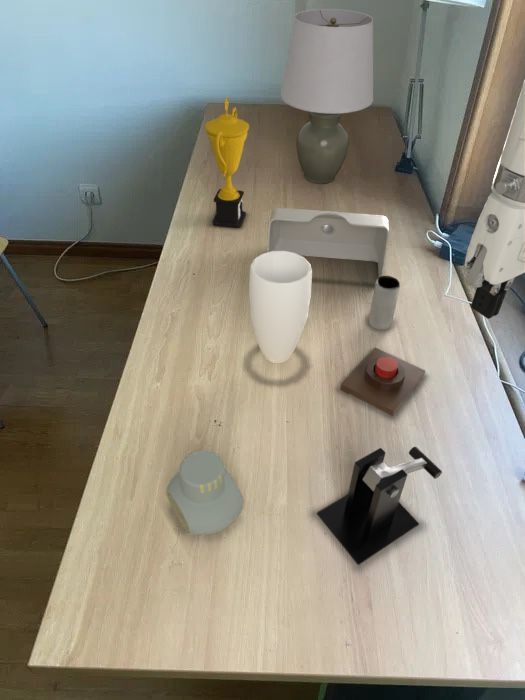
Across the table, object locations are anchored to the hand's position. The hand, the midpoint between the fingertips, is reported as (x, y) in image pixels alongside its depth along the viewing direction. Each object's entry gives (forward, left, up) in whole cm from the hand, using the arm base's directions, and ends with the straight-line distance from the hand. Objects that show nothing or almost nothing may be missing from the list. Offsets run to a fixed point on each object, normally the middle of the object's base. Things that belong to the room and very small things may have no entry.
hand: (483, 311), depth 75 cm
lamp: (-40, -85, -25) cm, 97 cm away
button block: (+1, -13, -25) cm, 28 cm away
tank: (-14, -49, -25) cm, 57 cm away
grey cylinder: (-10, -26, -25) cm, 38 cm away
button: (+1, -13, -21) cm, 25 cm away
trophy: (-5, -76, -25) cm, 80 cm away
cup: (+14, -27, -25) cm, 40 cm away
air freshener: (+39, -8, -25) cm, 47 cm away
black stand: (+21, +6, -25) cm, 33 cm away
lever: (+17, +6, -17) cm, 25 cm away
